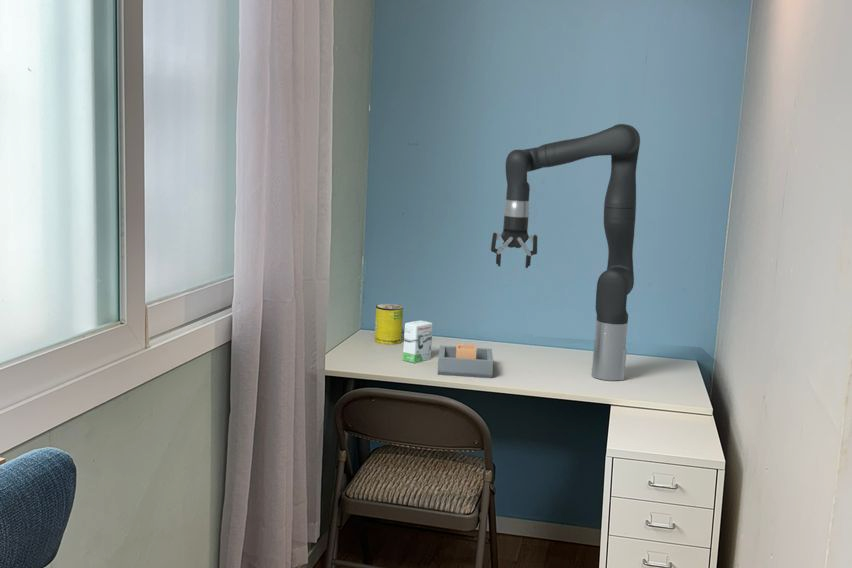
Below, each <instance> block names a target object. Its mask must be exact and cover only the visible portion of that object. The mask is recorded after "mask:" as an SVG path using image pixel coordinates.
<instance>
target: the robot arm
mask: <svg viewBox="0 0 852 568" xmlns="http://www.w3.org/2000/svg"><path fill="white" fill-rule="evenodd" d="M640 145H641V136H640V134H639V131H638V130H637V128H635V127H634V126H633V125H629V124H625V123H618V124H615V125H613V126H611V127H609V128H606V129H604V130H601V131H599V132H594V133H592V134H589V135H586V136H581V137H575V138H571V139H569V138H568V139H564V140H559V141H554V142H550V143H549V142H548V143H543V144H542V145H539V146H537V147H531V148H525V149H513V150H512V151H510V152H509V153H508V155H507V157H506V160H505V177H506V185H507V187H506V196H505V204H504V211H503V213H504V215H503V228H502V232H501V233H499V232H496V231H494V232H492V236H491V237H492V238H491V244H490V251H491V253H494V254H496V255H495V256H496V258H495V263H496V264H495V265H497V267H501V263H502V260H501V259H502V254H501V253H502V252H504V250H505V249H506V248H511V249H512V248H516V249H520V248H522V249H523V251H524V252H525V254H526V255H525V263H524V265H525V266H524V267H525V269H528V268H529V267H530V266H531V260H532V256H535V255H537V254H538V235H537V234H536V233H534V234H528V232H529V231H528V230H529V217H530V193H531V192H530V191H531V190H530V188H531V187H530V183H529V182H528V173H529V172H533V171H537V170H540V169H543V168H551V167H556V166H562V165H566V164H571V163H574V162H576V161H580V160H584V159H587V158H592V157H598V156H599V157H600V156H610V157H611V159H610V161H611V162H610V166H611V167H610V168H611V169H610V175H609V181H608V185H607V189H606V191H605V197H604V203H603V228H604V234H605V238H606V242H607V249H608V252H607V253H608V258H607V265H606V266H607V267H606V270H605V271H603V272H601V274H600V275H599V277H598V278H597V282H596V289H595V312H596V313H595V314H596V321H595V331H594V343H593V355H592V366H591V367H592V368H591V376H592V378H595V379H598V380H603V381H613V382H614V381H625V373H626V371H625V370H626V361H627V352H628V351H627V348H626V344H627V343H626V342H627V334H628V322H629V313H628V311H627V304H628V303H627V302H628V295H629V294H630V293H631V292H632V291H633V288H634V284H635V275H634V260H633V259H634V257H633V256H634V255H633V253H634V251H633V250H634V243H635V242H634V241H635V240H634V239H635V227H636V214H637V213H636V212H637V175H636V174H637V164H638V157H639V153H640V152H639V151H640ZM500 238H501V239H502V240H503V242H502V244H501V245H500V246H499V247H498V248H496V244H497V241H498V240H499V239H500ZM528 240H530V242H531V243H532V250H530V249H529V248H528V247H527V245H526V242H527V241H528Z"/></svg>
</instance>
